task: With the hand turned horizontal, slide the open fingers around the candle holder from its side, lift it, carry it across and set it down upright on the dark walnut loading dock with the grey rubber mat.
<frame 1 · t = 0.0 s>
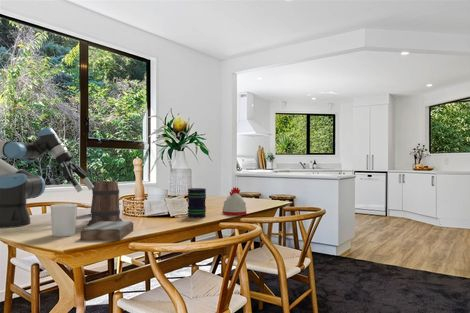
hand: (86, 189, 176), 15 cm above the table, tool tilted 35°, fingers open, 13 cm apart
tankard: (103, 223, 169), on the table
dock: (108, 235, 142), on the table
storage jar: (196, 216, 190), on the table
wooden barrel: (100, 214, 198), on the table
pom-pom beanie: (234, 213, 203), on the table
candle holder: (63, 235, 142), on the table
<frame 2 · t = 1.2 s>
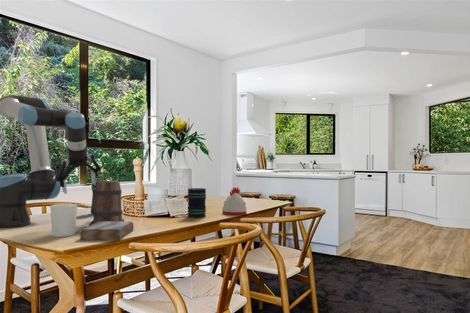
hand: (79, 188, 165), 17 cm above the table, tool tilted 30°, fingers open, 13 cm apart
tankard: (105, 224, 167), on the table
everything else where it was.
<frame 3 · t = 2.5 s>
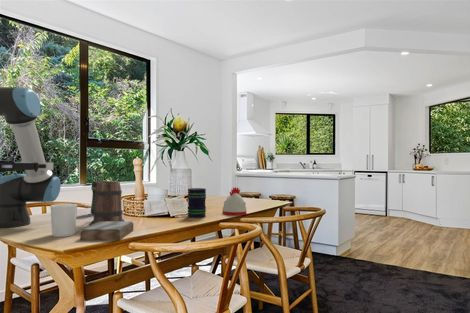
hand: (41, 165, 134), 28 cm above the table, tool horizontal, fingers open, 13 cm apart
nothing on the table moved.
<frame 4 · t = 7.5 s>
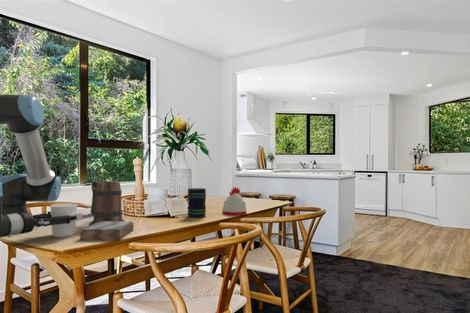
hand: (73, 215, 146), 7 cm above the table, tool horizontal, fingers closed on candle holder, 9 cm apart
candle holder: (63, 235, 142), on the table, touching gripper
everything else where it was.
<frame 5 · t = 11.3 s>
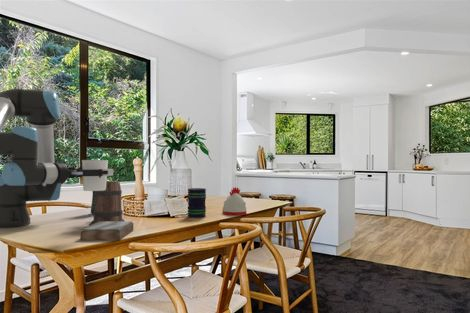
hand: (104, 171, 145), 25 cm above the table, tool horizontal, fingers closed on candle holder, 9 cm apart
candle holder: (94, 190, 141), point 18 cm above the table, touching gripper
everything else where it was.
when the fingers open (13 cm above the table, at t = 15.2 s): candle holder drops 1 cm, resting on dock.
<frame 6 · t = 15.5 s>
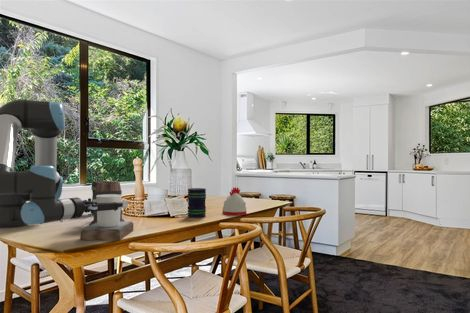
hand: (116, 202, 145), 13 cm above the table, tool horizontal, fingers open, 12 cm apart
candle holder: (108, 225, 142), point 4 cm above the table, touching dock
everything else where it was.
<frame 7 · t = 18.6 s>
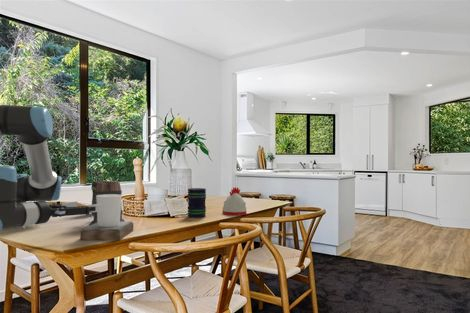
hand: (88, 206, 134), 13 cm above the table, tool horizontal, fingers open, 13 cm apart
nothing on the table moved.
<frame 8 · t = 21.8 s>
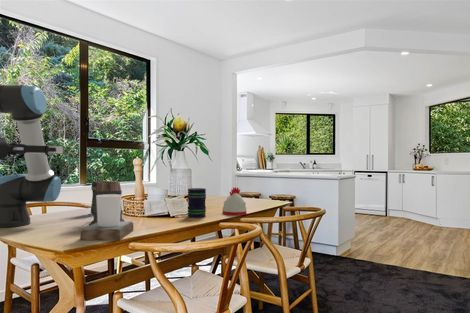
hand: (51, 150, 136), 34 cm above the table, tool horizontal, fingers open, 13 cm apart
nothing on the table moved.
at the end: candle holder inside the target area on the dock (0.2 cm from its centre), point 3.8 cm above the dock's base; candle holder tilted 0°; the gripper is holding nothing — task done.
